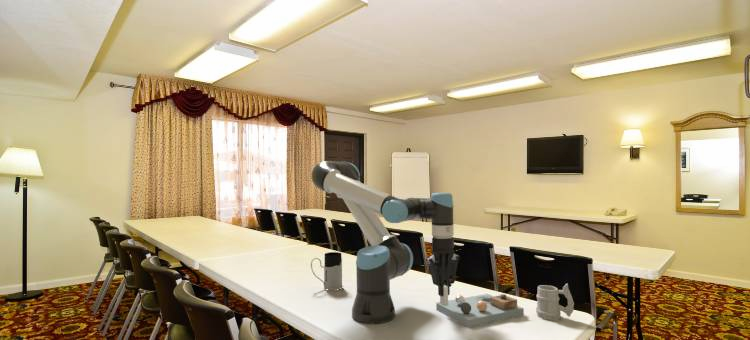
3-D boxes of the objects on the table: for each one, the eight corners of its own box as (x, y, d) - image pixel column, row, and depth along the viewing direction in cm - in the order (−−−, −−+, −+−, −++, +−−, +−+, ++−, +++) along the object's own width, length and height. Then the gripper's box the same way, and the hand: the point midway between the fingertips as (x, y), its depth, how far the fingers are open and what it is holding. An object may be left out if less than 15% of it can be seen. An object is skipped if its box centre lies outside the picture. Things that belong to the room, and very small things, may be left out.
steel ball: (459, 307, 128) (458, 297, 128) (453, 304, 131) (452, 294, 131) (467, 306, 129) (466, 296, 129) (460, 303, 133) (460, 293, 133)
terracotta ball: (481, 313, 122) (481, 303, 122) (474, 310, 125) (474, 300, 125) (489, 312, 123) (489, 301, 123) (482, 308, 127) (482, 298, 127)
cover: (503, 309, 124) (503, 299, 125) (490, 304, 130) (489, 293, 130) (517, 307, 127) (517, 296, 127) (503, 301, 133) (503, 291, 133)
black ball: (465, 315, 120) (464, 305, 120) (458, 312, 123) (458, 301, 124) (473, 314, 122) (473, 303, 122) (466, 310, 125) (466, 300, 125)
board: (468, 327, 117) (468, 319, 117) (436, 309, 133) (436, 302, 133) (523, 315, 127) (523, 308, 127) (487, 300, 143) (487, 293, 143)
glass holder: (345, 289, 159) (345, 254, 159) (313, 293, 154) (313, 257, 154) (339, 284, 167) (339, 251, 167) (309, 287, 162) (308, 253, 162)
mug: (537, 311, 131) (536, 277, 131) (574, 316, 125) (573, 281, 125) (534, 318, 124) (534, 282, 125) (574, 324, 118) (573, 287, 119)
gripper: (433, 239, 122) (434, 311, 121) (464, 236, 127) (466, 305, 126) (421, 236, 129) (422, 304, 128) (451, 234, 134) (453, 299, 133)
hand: (444, 304), depth 127 cm, fingers closed
